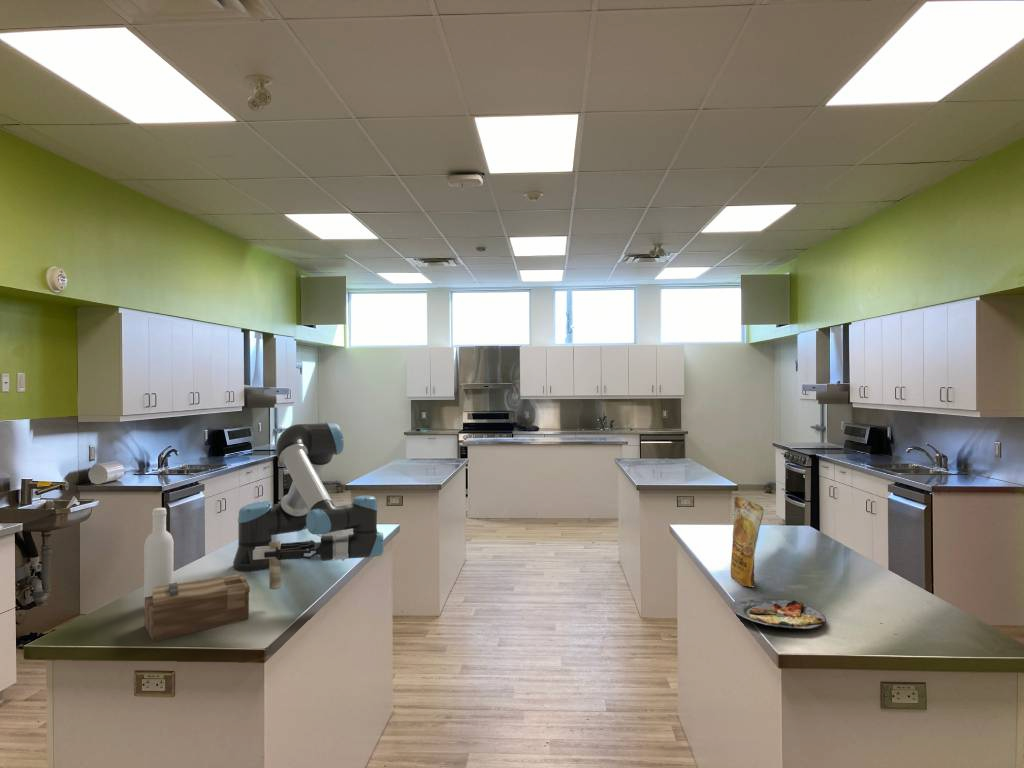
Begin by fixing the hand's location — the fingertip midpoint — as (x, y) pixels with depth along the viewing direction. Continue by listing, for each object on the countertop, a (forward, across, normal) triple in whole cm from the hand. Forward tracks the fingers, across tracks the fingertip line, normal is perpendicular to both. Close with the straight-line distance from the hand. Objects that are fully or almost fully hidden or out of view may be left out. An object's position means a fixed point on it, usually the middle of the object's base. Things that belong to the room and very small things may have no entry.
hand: (254, 553), depth 181 cm
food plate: (-149, -50, -18) cm, 158 cm away
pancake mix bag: (-161, -18, -17) cm, 163 cm away
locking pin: (-6, 0, -11) cm, 13 cm away
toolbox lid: (+13, -7, -8) cm, 17 cm away
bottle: (+29, +9, -17) cm, 34 cm away
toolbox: (+14, -8, -16) cm, 23 cm away
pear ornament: (-19, +68, -15) cm, 72 cm away
